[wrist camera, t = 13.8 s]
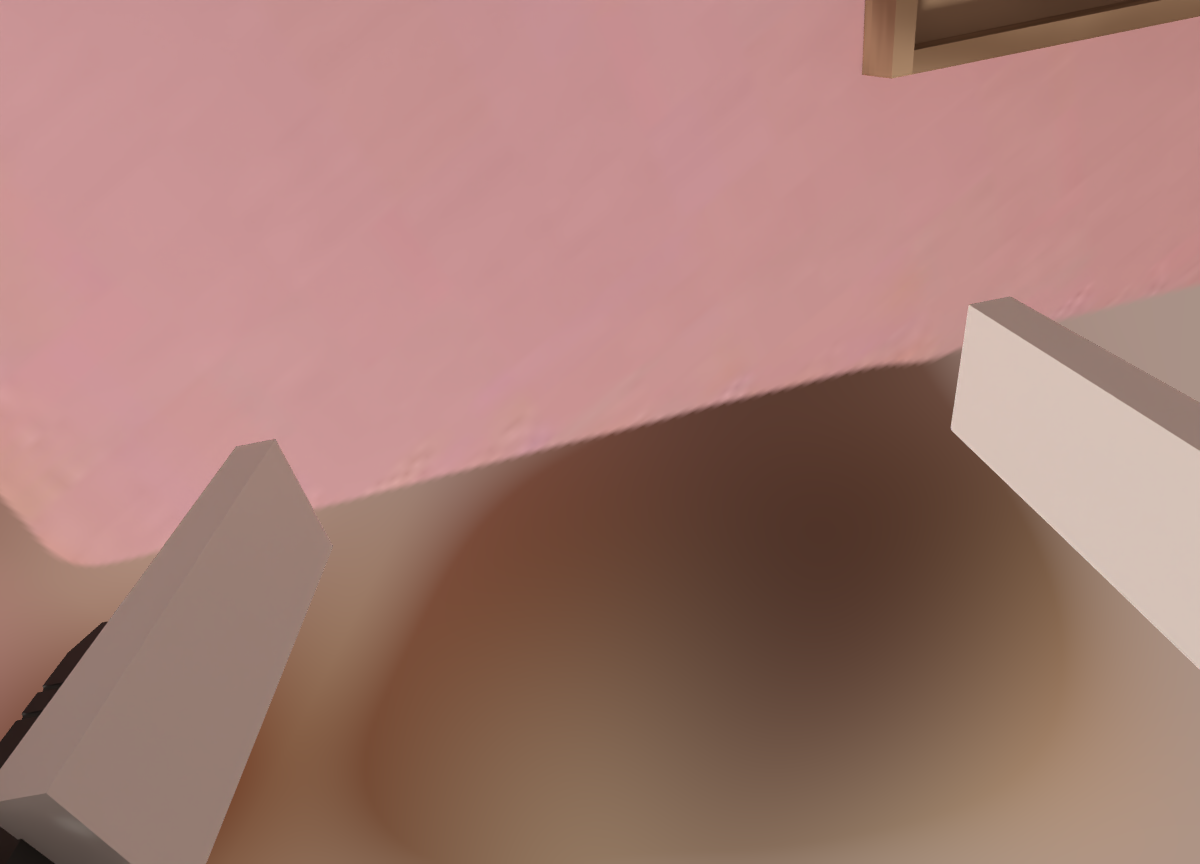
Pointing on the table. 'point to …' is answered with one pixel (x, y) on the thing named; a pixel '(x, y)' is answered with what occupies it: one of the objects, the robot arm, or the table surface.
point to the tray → (994, 28)
